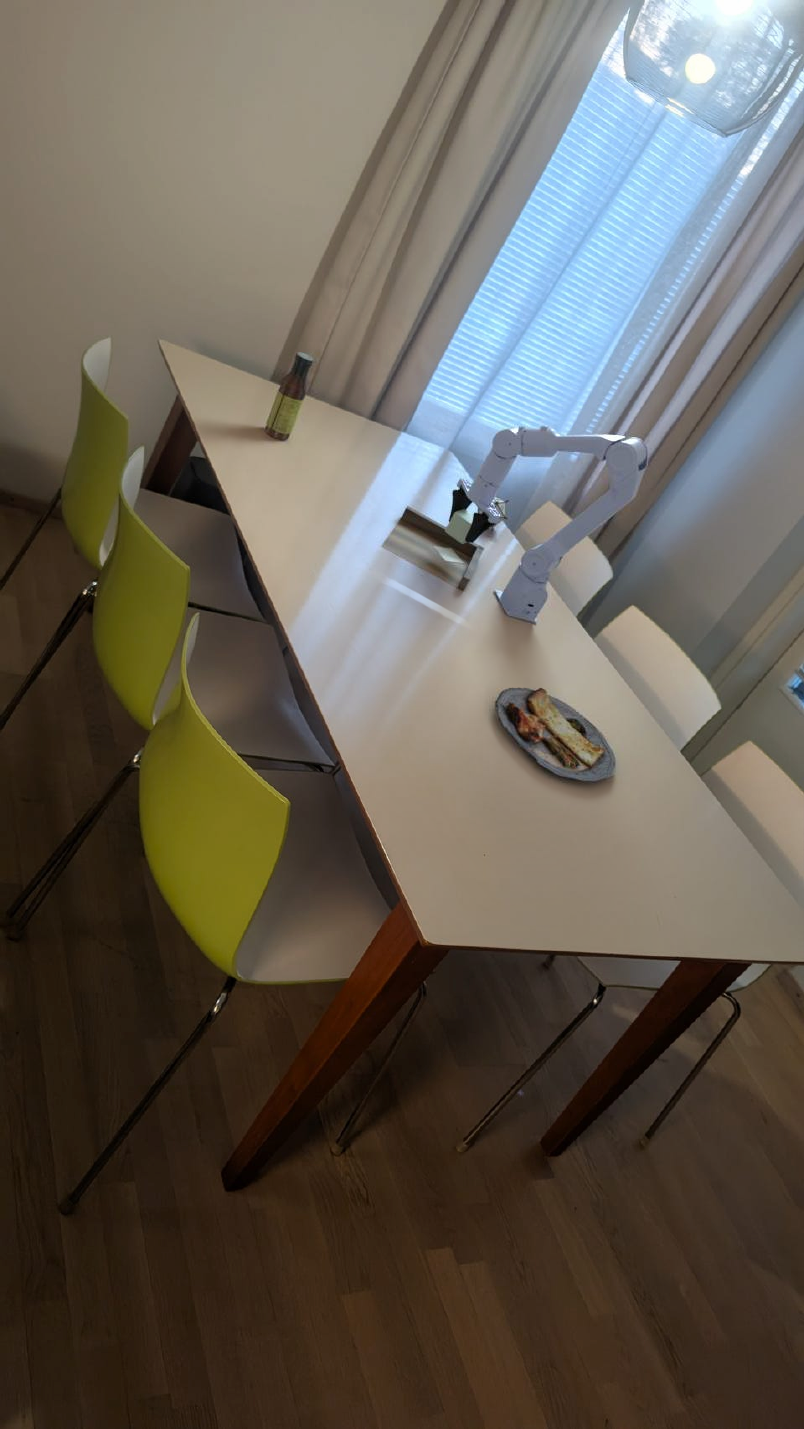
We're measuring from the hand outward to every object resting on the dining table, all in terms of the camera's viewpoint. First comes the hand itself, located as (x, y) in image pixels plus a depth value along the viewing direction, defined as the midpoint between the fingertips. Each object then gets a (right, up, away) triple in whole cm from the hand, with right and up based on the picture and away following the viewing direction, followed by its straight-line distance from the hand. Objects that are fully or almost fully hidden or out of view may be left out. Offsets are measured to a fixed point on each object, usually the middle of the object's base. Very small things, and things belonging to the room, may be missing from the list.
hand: (460, 532), depth 232 cm
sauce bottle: (-43, +26, +16) cm, 53 cm away
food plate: (+14, -45, -38) cm, 61 cm away
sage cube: (-1, -1, 0) cm, 1 cm away
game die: (+7, +7, +30) cm, 32 cm away
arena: (-7, -5, +1) cm, 9 cm away
